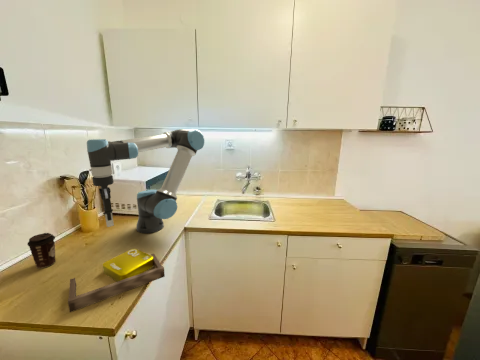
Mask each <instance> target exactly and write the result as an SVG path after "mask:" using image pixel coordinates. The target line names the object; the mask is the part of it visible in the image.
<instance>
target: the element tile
mask: <svg viewBox="0 0 480 360" xmlns="http://www.w3.org/2000/svg"><path fill="white" fill-rule="evenodd" d="M153 259H154V257H153V256H151V254H149V253H147V252H144V251H142V250H140V249H138V248H131V249H129V250H127V251H125V252H122V253H121V254H119V255H116V256H114V257H112V258H111V259H108V260H106V261H105V262H103V263H102V271H103V274H104V275H105V276H107V277H108V278H110V279H112V280H113V281H115V282H118V281H121V280H124V279H127V278H130V277H132V276H135V275H138V274H141V273H144V272H147V271H150V270H151V269H153V267H155V266H154V260H153Z"/></svg>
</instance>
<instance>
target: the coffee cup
mask: <svg viewBox="0 0 480 360" xmlns="http://www.w3.org/2000/svg"><path fill="white" fill-rule="evenodd" d="M54 240H56V235H53V234H52V233H50V232H44V233H39V234H36V235H33V236H31V237H30V238H29V239H28V242H27V246H28V247H29V250H30V253H31V256H32V258H33V259H32V260H33V262H34V263H35V265H36V266H35V268H36V269H45V268H48V267H51V266H52V265H54V264H55V263H56V245H55V244H56V243H55V241H54Z"/></svg>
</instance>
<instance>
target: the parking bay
mask: <svg viewBox="0 0 480 360" xmlns="http://www.w3.org/2000/svg"><path fill="white" fill-rule="evenodd" d="M150 255H151V256H153V257H154V259H153V260H154V266H153V267H154V268H152V269H149V270H147V271H146V272H144V273H141V274H138V275H135V276H132V277H130V278H127V279H124V280H121V281H118V282H117V281H115V282H113V283H109V284H107V285H104V286H102V287H98V288H95V289H93V290H90V291H87V292H83V293H81V294H78V295H77V282H76V277H73V278H70V279H69V288H68V290H69V291H68V298H67V304H68V310H69V313H73V312H74V311H77V310H80V309H83V308H85V307H88V306H91V305H93V304H96V303H99V302H101V301H104V300H107V299H109V298H112V297H115V296H117V295H119V294H123V293H125V292H128V291H130V290H133V289H135V288H138V287H141V286H143V285H146V284H149V283H152V282H154V281H157V280H159V279H161V278H165V266H164V265H162V264H161V263H160V260H159V259H158V257H157V256H156V254H155V253H151V254H150Z"/></svg>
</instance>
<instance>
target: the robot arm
mask: <svg viewBox="0 0 480 360" xmlns="http://www.w3.org/2000/svg"><path fill="white" fill-rule="evenodd" d="M204 145H205V137H204V135H203V133H202V131H201V130H199V129H195V128H191V129H189V128H188V129H187V128H186V129H183V128H181V129H180V128H179V129H175V130H171V131H165V132H162V134H157V135H150V136H149V135H148V136H143V137H135V138H134V137H133V138H127V139H121V140H114V141H110V140H109V141H108V139H105V138H102V139H101V138H98V139H97V138H96V139H94V138H93V139H88V140H87V141H86V149H87V150H86V152H87V155H88V161H89V167H90V168H89V170H88V171H89V172H91V176H92V178H91V179H92V184H93V187H100V188H98V191H99V194H100V198H101V200H102V204H103V211H104V212H103V215H104V217H105V223H106V227H107V228H109V227H113V226H115V224H114V223H115V222H114V218H113V211H114V209H113V208H112V202H111V198H112V197H111V188H110V187H109V186H111V185H112V184H114V177H113V168H112V164H111V163H112V162H114V161H121V160H131V159H136V158H137V157H138V156H139V153H143V152H145V151H146V152H147V151H152V150H158V149H164V148H166V149H174V148H175V149H177V151H176V154H175V156H174V158H173V161H172V163H171V165H170V168H169V170H168V172H167V174H166V176H165V178H164V181H163V182H162V186H161V188H159V189H148V190H146V189H145V190H142V191H139V192H138V193H137V194H136V202H137V212H138V218H137V222H136V226H135V228H136V231H137V232H138V233H142V234H151V233H156V232H159V231H160V230H162V229H163V228H164V225H165V224H164V221H163V220H168V219H171V218H172V217H173V216H174V215H175V214H176V212H177V210H178V203H177V199H178V196H177V193H178V191H179V188H180V185H181V183H182V181H183V178H184V175H185V174H186V171H187V168H188V167H189V165H190V162H191V160H192V157H194V156H196V154H197V152H198V151H200V150H202V149H203V148H204Z"/></svg>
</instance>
